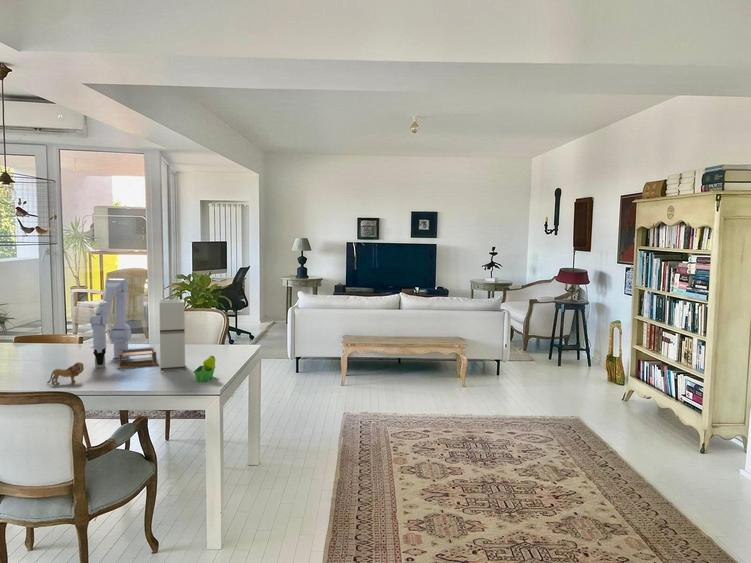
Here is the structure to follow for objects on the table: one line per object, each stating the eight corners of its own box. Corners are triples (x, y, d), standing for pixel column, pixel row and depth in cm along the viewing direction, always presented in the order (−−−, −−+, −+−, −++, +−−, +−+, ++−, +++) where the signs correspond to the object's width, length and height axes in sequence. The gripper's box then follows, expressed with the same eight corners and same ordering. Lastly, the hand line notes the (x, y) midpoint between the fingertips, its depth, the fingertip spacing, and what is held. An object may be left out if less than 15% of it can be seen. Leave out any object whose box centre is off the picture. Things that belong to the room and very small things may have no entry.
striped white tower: (184, 365, 262) (184, 299, 259) (185, 370, 252) (184, 301, 249) (161, 366, 257) (160, 299, 255) (160, 372, 248) (159, 302, 245)
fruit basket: (200, 375, 243) (199, 353, 242) (218, 375, 243) (218, 353, 242) (193, 382, 231) (192, 358, 231) (212, 382, 232) (212, 358, 231)
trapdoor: (122, 355, 264) (122, 349, 264) (151, 352, 271) (151, 346, 271) (123, 359, 255) (123, 353, 255) (152, 356, 262) (152, 350, 262)
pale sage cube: (95, 365, 257) (95, 356, 256) (105, 364, 259) (104, 355, 258) (95, 367, 253) (94, 358, 252) (105, 366, 255) (104, 357, 254)
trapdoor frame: (117, 361, 266) (116, 349, 266) (156, 358, 275) (156, 346, 275) (117, 369, 251) (117, 356, 250) (159, 365, 260) (158, 353, 259)
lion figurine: (84, 379, 232) (84, 360, 231) (83, 382, 227) (83, 363, 226) (47, 383, 226) (46, 363, 225) (45, 386, 221) (44, 366, 220)
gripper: (90, 335, 259) (91, 361, 260) (90, 340, 246) (90, 367, 247) (106, 334, 262) (106, 359, 263) (106, 339, 249) (106, 366, 251)
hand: (100, 363), depth 256 cm, fingers closed on pale sage cube, 4 cm apart
